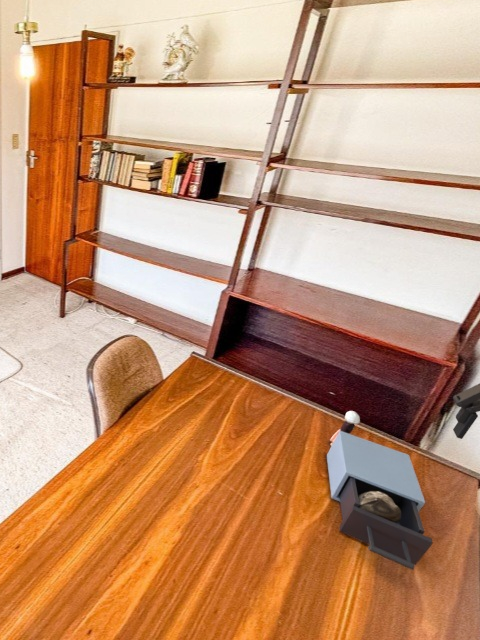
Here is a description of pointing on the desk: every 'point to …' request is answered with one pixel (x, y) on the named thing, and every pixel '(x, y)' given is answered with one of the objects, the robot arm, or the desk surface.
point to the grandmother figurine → (347, 424)
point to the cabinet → (372, 467)
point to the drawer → (384, 525)
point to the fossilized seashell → (379, 505)
